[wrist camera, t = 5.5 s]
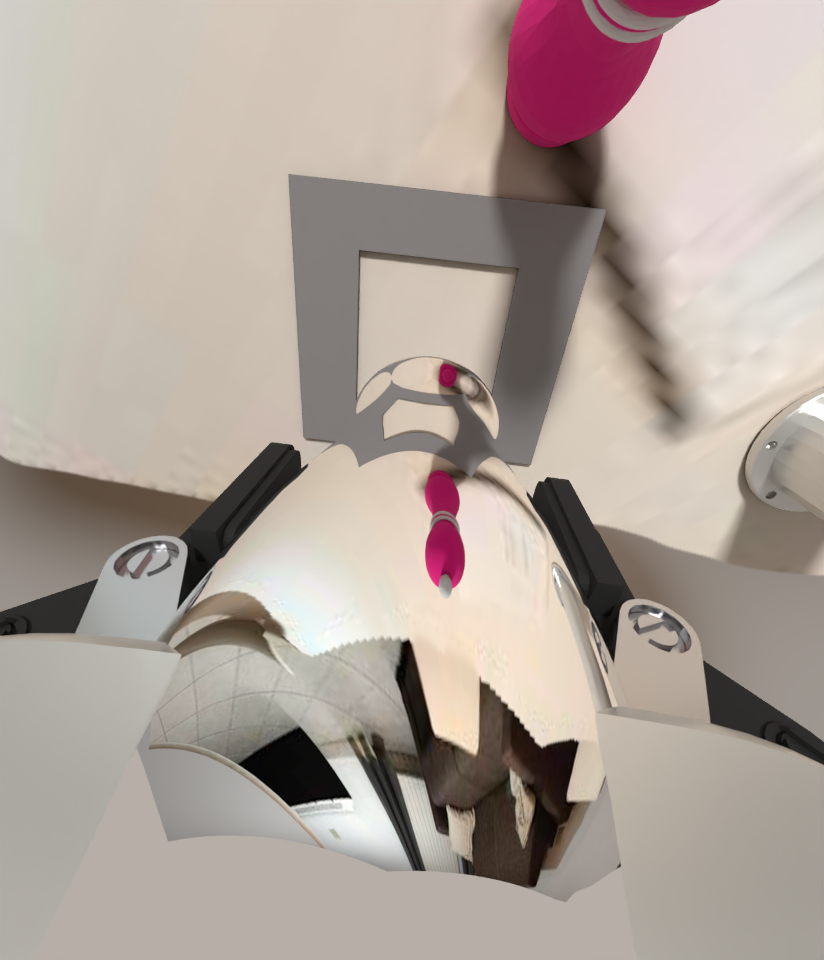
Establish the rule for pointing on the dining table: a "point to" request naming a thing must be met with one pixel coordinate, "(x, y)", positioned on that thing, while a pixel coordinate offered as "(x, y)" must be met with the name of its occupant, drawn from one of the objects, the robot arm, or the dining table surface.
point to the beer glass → (372, 723)
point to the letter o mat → (440, 235)
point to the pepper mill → (582, 61)
